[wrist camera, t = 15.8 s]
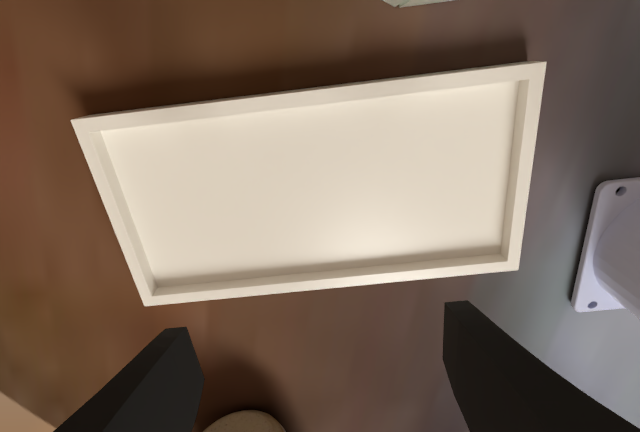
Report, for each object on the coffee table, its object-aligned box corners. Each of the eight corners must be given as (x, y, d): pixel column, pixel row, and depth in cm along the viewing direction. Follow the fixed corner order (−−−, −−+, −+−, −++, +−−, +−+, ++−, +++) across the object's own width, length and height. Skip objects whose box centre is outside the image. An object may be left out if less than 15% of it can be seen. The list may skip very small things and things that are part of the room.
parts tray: (527, 60, 16) (546, 61, 14) (505, 256, 20) (518, 270, 18) (89, 114, 17) (70, 119, 15) (155, 290, 21) (144, 306, 19)
